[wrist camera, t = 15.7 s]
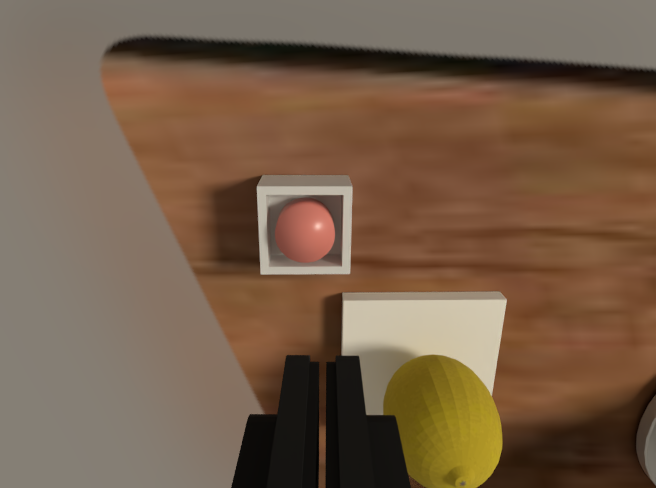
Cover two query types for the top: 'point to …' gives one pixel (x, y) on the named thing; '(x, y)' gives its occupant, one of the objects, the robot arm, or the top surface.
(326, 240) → the button
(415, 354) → the paper pad
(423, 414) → the lemon
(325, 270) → the button base
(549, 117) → the top surface
